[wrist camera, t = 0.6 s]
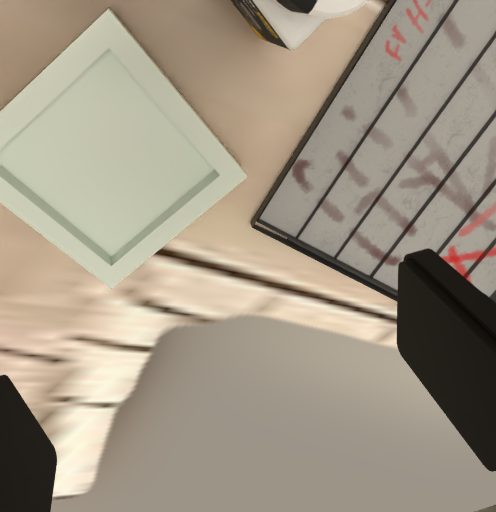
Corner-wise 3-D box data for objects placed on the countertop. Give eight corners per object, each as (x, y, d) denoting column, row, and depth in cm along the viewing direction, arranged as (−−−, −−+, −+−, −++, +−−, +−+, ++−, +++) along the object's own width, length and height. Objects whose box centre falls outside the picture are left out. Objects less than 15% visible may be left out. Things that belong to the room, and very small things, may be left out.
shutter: (244, 197, 44) (469, 317, 54) (251, 228, 38) (503, 357, 48) (474, -172, 32) (708, 69, 43) (537, -212, 26) (793, 80, 36)
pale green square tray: (109, 7, 29) (108, 8, 27) (240, 165, 36) (247, 176, 34) (-41, 149, 31) (-53, 161, 29) (112, 272, 38) (111, 289, 36)
